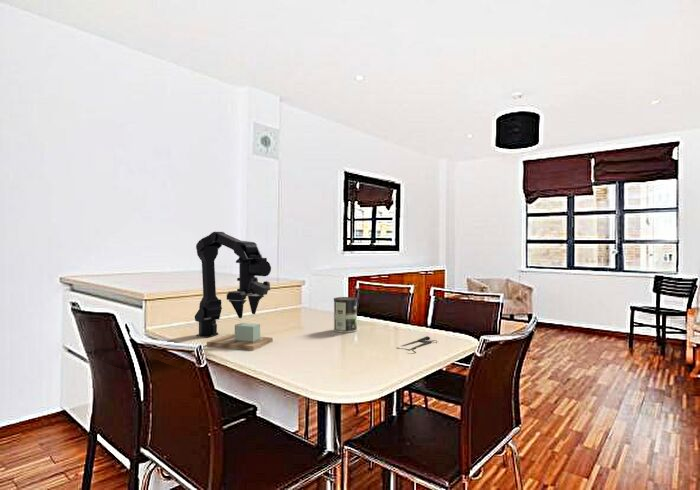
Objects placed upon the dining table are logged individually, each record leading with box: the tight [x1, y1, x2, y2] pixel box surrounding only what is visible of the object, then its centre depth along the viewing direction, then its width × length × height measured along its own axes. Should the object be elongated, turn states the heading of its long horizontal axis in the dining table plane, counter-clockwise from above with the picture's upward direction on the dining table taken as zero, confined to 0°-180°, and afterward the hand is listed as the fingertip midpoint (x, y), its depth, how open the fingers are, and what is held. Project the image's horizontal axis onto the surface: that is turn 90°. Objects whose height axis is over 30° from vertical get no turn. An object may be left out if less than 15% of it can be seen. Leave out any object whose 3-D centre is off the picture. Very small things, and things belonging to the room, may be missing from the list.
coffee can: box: [333, 296, 358, 334], centre depth 189 cm, size 10×10×14 cm
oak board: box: [206, 333, 274, 351], centre depth 164 cm, size 20×14×2 cm
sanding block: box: [234, 322, 261, 343], centre depth 163 cm, size 8×5×6 cm, turn 72°
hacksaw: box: [397, 335, 439, 355], centre depth 162 cm, size 24×10×2 cm, turn 135°
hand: (247, 316), depth 163 cm, fingers open, 9 cm apart
